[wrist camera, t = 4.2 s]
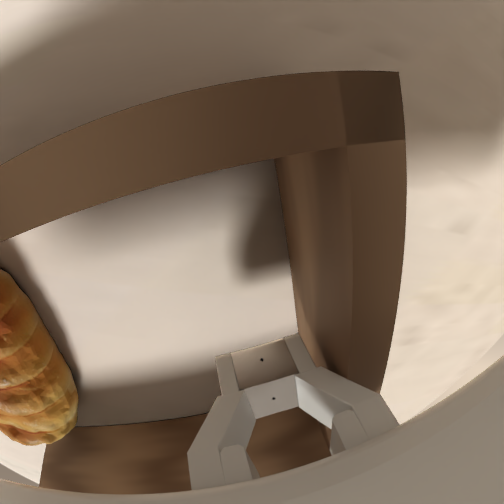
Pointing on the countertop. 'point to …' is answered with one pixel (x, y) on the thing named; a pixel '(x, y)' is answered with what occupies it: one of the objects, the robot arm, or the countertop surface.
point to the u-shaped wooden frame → (297, 233)
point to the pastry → (31, 374)
